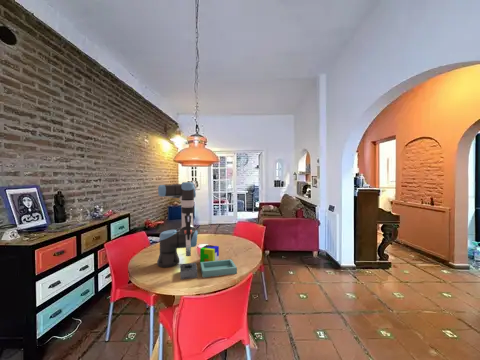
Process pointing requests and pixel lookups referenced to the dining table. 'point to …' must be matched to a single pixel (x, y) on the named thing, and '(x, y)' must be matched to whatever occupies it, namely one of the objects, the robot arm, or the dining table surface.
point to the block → (188, 270)
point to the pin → (188, 247)
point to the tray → (218, 268)
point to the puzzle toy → (209, 253)
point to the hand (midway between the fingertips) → (188, 243)
